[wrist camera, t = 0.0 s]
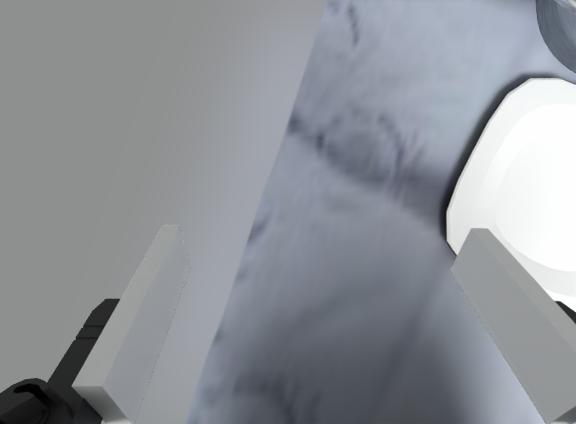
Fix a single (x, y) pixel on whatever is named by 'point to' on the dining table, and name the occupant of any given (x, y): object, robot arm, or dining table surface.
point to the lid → (568, 5)
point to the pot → (558, 31)
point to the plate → (525, 184)
